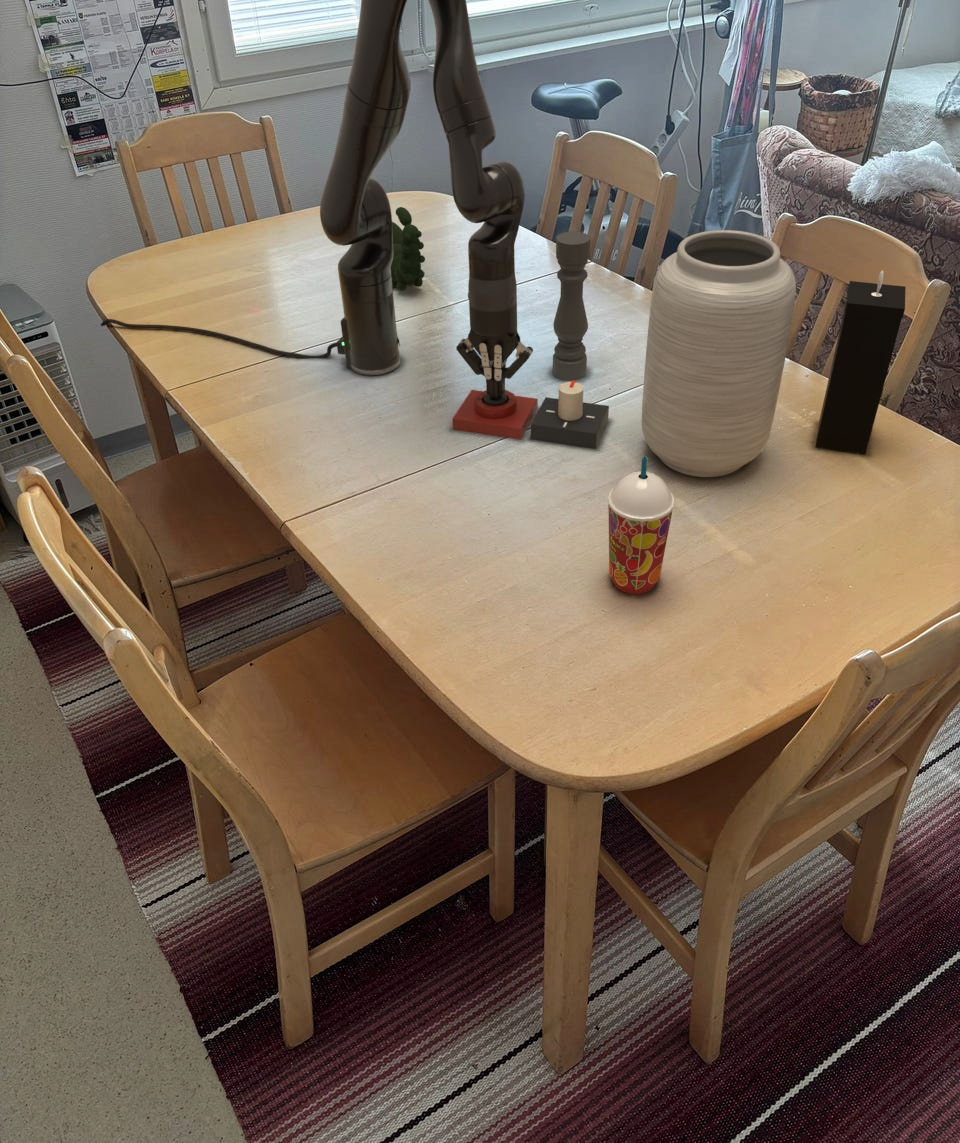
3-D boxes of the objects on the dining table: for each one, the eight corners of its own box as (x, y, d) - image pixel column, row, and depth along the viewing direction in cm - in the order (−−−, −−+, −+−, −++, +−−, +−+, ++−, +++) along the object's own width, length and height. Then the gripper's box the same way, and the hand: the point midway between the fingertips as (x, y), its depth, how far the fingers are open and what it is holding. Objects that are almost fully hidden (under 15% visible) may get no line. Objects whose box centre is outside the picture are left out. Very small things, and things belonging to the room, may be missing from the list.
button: (480, 411, 162) (480, 401, 161) (488, 400, 165) (487, 389, 164) (503, 415, 161) (503, 404, 160) (510, 403, 164) (510, 392, 163)
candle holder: (584, 382, 173) (589, 246, 157) (550, 380, 174) (552, 244, 158) (588, 365, 178) (593, 231, 162) (554, 363, 179) (557, 230, 163)
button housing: (453, 429, 163) (451, 409, 160) (472, 400, 170) (471, 380, 167) (521, 439, 159) (521, 419, 157) (537, 409, 167) (537, 389, 164)
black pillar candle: (867, 430, 158) (911, 264, 140) (865, 455, 152) (911, 286, 134) (818, 423, 160) (854, 259, 142) (814, 448, 155) (851, 280, 136)
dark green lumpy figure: (437, 300, 206) (392, 251, 221) (435, 214, 192) (386, 168, 208) (397, 310, 202) (353, 260, 218) (391, 224, 189) (345, 176, 205)
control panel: (530, 439, 159) (530, 423, 157) (545, 412, 166) (545, 396, 164) (595, 449, 157) (596, 432, 154) (608, 421, 163) (609, 404, 161)
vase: (688, 503, 144) (716, 290, 123) (613, 440, 158) (626, 239, 137) (793, 465, 151) (837, 256, 129) (712, 408, 165) (739, 211, 143)
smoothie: (598, 564, 134) (605, 442, 121) (657, 559, 135) (670, 437, 122) (609, 604, 128) (617, 479, 115) (671, 598, 128) (686, 474, 115)
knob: (579, 422, 157) (580, 393, 154) (555, 419, 158) (556, 390, 155) (584, 409, 160) (585, 381, 157) (561, 406, 161) (561, 378, 158)
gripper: (540, 293, 152) (540, 391, 163) (461, 285, 155) (466, 381, 166) (526, 314, 146) (527, 413, 157) (445, 305, 150) (451, 403, 161)
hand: (495, 396), depth 162 cm, fingers closed
